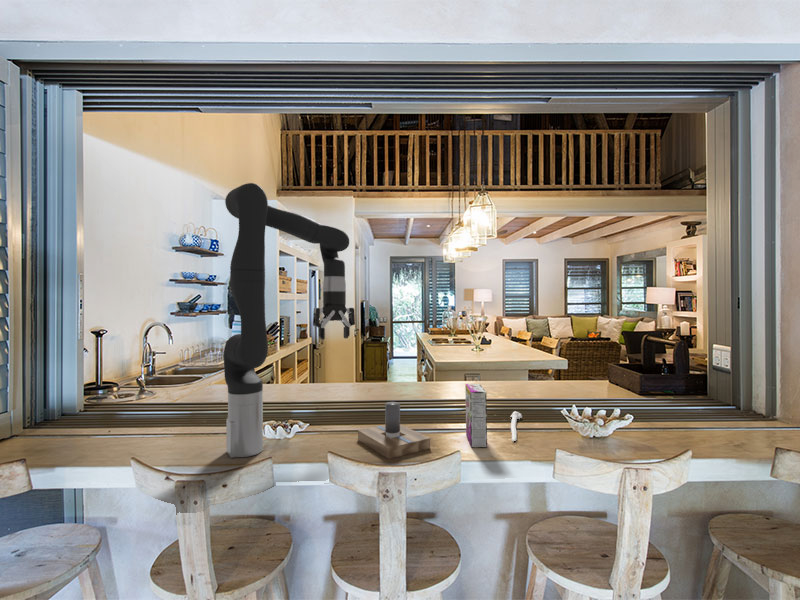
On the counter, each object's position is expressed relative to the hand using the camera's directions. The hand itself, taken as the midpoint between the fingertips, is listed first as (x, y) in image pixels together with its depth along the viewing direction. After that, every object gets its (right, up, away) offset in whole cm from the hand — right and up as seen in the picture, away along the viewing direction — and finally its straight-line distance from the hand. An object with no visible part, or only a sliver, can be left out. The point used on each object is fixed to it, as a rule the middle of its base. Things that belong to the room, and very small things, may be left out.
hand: (334, 338), depth 138 cm
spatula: (+61, -30, -2) cm, 68 cm away
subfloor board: (+20, -30, -16) cm, 39 cm away
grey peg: (+20, -30, -16) cm, 39 cm away
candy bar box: (+45, -30, -14) cm, 56 cm away
